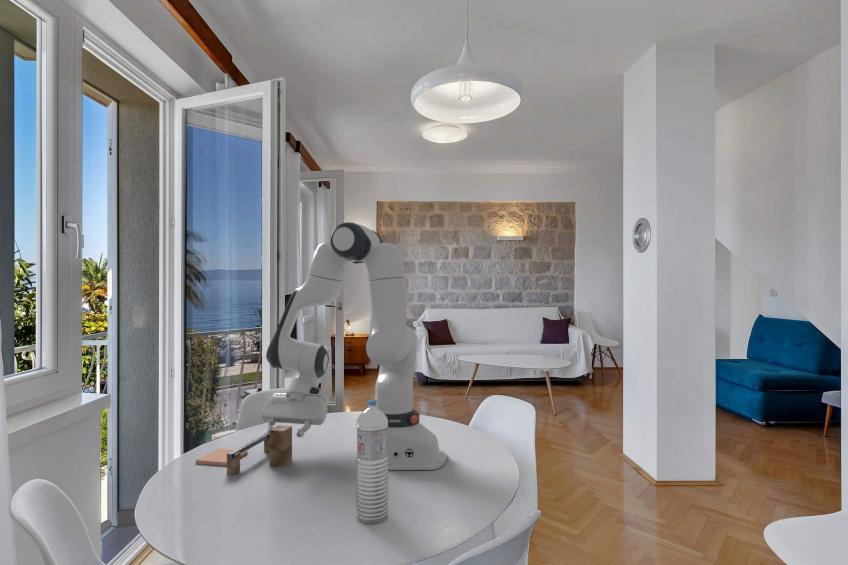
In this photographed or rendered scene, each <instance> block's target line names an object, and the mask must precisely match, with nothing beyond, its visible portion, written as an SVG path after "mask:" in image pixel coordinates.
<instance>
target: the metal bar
mask: <svg viewBox="0 0 848 565" xmlns="http://www.w3.org/2000/svg"><path fill="white" fill-rule="evenodd" d="M265 433H266V432H265ZM269 437H270V435H268V433H266V434H264V433H263V434H262V435H260V436H259V437H257V438H254V439H253V440H251V441H250V442H247V443H246V444H243V445H242V446H240V447H238V448H236V449H233V450H234V451H232V452H231V453H229V454H228V458H230V459H232V458H234V454H236V453H238V452H240V454H241V453H243V452H245V451H248V450H250V449H252V448H253V447H255V446H257V445H259V444H261V443H262V442H264V440H266V439H268V438H269Z"/></svg>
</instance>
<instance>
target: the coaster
mask: <svg viewBox="0 0 848 565" xmlns="http://www.w3.org/2000/svg"><path fill="white" fill-rule="evenodd" d="M234 450H235V449H233V448H232V449H231V448H217V449H215V450H213V451H210V452H209V453H207V454H205V455H203V456H201V457H199V458H197V459H195V464H198V465H209V466H220V467H221V466H223V467H227V453H229V452H231V451H234ZM246 454H247V455H248V450H246V451H245V452H243V453H241V454H240V459H241V458H243V457H245V456H247V455H246Z"/></svg>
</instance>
